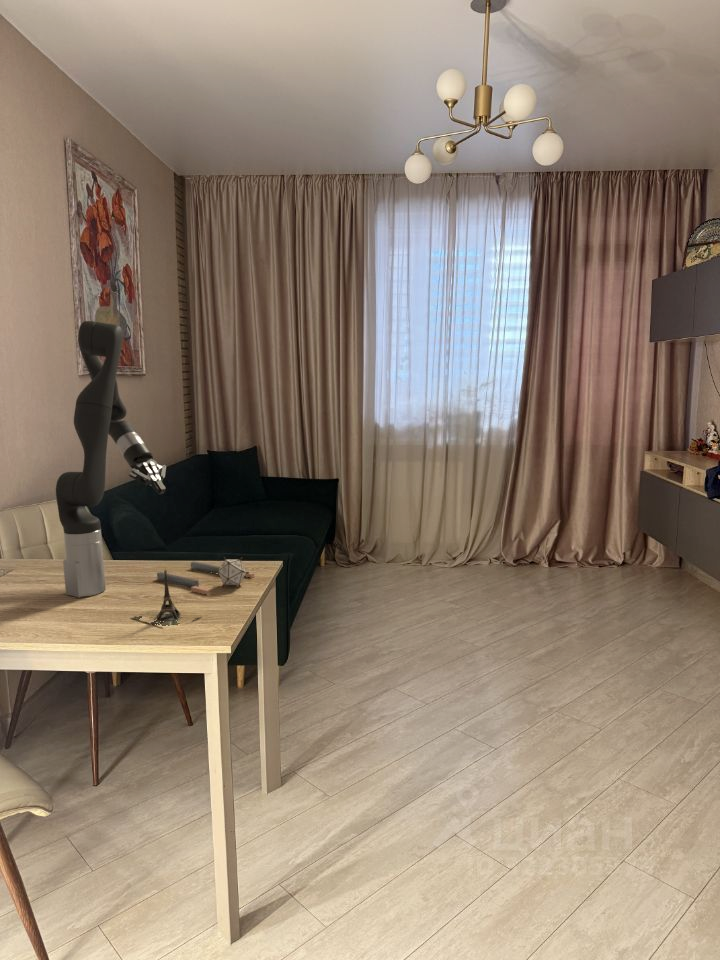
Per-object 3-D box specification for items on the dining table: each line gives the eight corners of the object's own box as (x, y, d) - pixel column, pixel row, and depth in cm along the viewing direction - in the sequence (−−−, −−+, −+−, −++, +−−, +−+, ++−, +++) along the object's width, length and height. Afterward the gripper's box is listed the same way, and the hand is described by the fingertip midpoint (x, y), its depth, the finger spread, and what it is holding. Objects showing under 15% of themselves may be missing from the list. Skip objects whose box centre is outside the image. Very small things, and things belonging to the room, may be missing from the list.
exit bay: (207, 595, 168) (206, 590, 168) (191, 591, 172) (191, 587, 171) (254, 577, 183) (254, 573, 183) (239, 574, 187) (239, 570, 187)
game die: (239, 596, 178) (258, 566, 179) (230, 595, 170) (251, 564, 171) (214, 579, 180) (233, 549, 181) (204, 577, 171) (224, 546, 173)
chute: (195, 588, 174) (195, 581, 174) (157, 579, 183) (156, 573, 182) (231, 575, 185) (231, 569, 185) (194, 567, 194) (193, 561, 194)
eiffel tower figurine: (129, 620, 152) (125, 567, 150) (163, 608, 160) (159, 557, 158) (169, 633, 144) (166, 576, 142) (203, 619, 152) (200, 565, 150)
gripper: (120, 443, 187) (149, 487, 182) (156, 440, 198) (185, 481, 193) (110, 460, 191) (139, 503, 186) (147, 456, 202) (174, 497, 197)
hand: (162, 492), depth 190 cm, fingers closed
